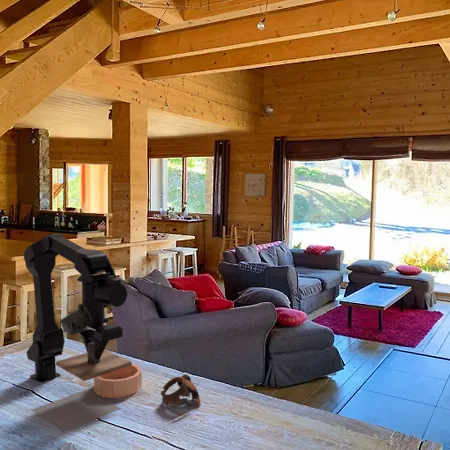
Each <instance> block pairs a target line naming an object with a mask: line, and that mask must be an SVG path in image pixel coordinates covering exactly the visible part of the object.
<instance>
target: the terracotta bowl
mask: <svg viewBox="0 0 450 450" xmlns="http://www.w3.org/2000/svg"><path fill="white" fill-rule="evenodd" d="M142 373H143V372H142V369H141V366H139V365H138V364H135V363H132V365H131V366H128V367H125V368H122V369H119V370H116V371H113V372H110V373H107V374H104V375H101V376H98V377H95V378H92V379H93V394H95V395H97V396H99V397H101V398H109V399H117V398H126V397H129V396H131V395H134V394H137V393H138V392H139V390H141V389H142V386H143V383H142V379H143V377H142V376H143V374H142Z"/></svg>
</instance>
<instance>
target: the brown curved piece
mask: <svg viewBox="0 0 450 450" xmlns="http://www.w3.org/2000/svg"><path fill="white" fill-rule="evenodd" d="M176 383H177V386H178V389H177V390H176V391H174V392H172V393H168V394H166V393H167V391H168V390H170V388H172V387H173V385H176ZM160 395H161V398H162V401H161V402H162V403H163V404H164V405H166V406H168V405H173V404H177V405H180V404H181V402H180V401H181V399H180V397H183V398H184V397H186V398H187V397H190V396H191V399H192V400H195V404H196V406H197V408H200V407H201V399H200V394H199V392H198V390H197V387H196V386H195V384H194V383H193V382H192V378H191V376H189V374H187V373H186V374H183V375H180V376H175V377H173V378H171V379H170V380H168V381H167V382H166V383H165V384H164V385H163V387H162V390H161V391H160Z"/></svg>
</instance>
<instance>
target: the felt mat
mask: <svg viewBox="0 0 450 450" xmlns="http://www.w3.org/2000/svg"><path fill="white" fill-rule="evenodd" d="M120 409H122V408H121V407H120V406H117V405H115V404H114V403H111V402H110V401H108V400H106V399H104V397H101V396H99V395H97V394H96V393H94V392H91V391H89V390H87V389H85V390H82V391H79V392H77V393H76V392H75V393H73V394H71V395H67V396H66V397H62V398H59V399H57V400H54V401H51V402H48V403H45V404H42V405H39V406H37V407H35V408H32V409H31V411H32V412H34V413H35V414H36V415H38V416H39V417H41V418H42V419H44V420H46V421H47V422H48V423H50V424H51V425H53V426H54V427H56V428H57V429H58V430H60V431H62V432H63V433H66V432H68V431H71V430H73V429H75V428H78V427H79V426H82V425H84V424H87V423H90V422H92V421H94V420H97V419H99V418H102V417H104V416H106V415H108V414H111V413H114V412H115V411H116V412H117V411H118V410H120Z"/></svg>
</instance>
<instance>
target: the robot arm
mask: <svg viewBox="0 0 450 450" xmlns="http://www.w3.org/2000/svg"><path fill="white" fill-rule="evenodd" d="M58 256H61V257H62V258H64V259H65V260H68V262H71V263H72V264H73V267H74V270H75V271H77V272H78V273H79V274H80V276H78V277H77V280H76V281H77V282H81V303H79V304H78V305H77V311H74V312H72V313H70V314H68V315H67V316H65V317H63V318H61V320H60V325H61V327H62V328H61V327H60V326H58V324H57V323H56V317H55V316H56V315H55V314H56V313H55V305H54V304H55V303H54V294H53V292H54V291H53V284H52V272H53V271H54V269H55V266H56V265H57V263H56V261H57V260H56V258H57V257H58ZM23 260H24V263H25V268H26V269H27V270H28V272H29V273H30V275H31V276H32V280H33V290H34V300H35V301H34V302H35V303H34V304H35V311H36V322H37V325H36V328H35V329H34V332H33V334H32V344H31V345H29V348H28V349H27V350H26V357H27V359H28V360H29V361H31V362H34V374H30V375H29V376H30V377H29V378H31V379H32V380H35V381H36V382H37V383H43V382H46V381H50V380H52V379H55V378H59V377H61V374H60V373H58V372H56V371H57V369H56V366H57V365H56V357H58V356H62V355H63V351H64V346H65V342H66V341H65V337H64V333H67V334H69V335H71V336H73V335H76V334H78V335H79V336H80V337H81V339H82V341H83V344H84V347H85V350H86V353H87V354H88V343H89V342H93V344H94V353H95V359H96V360H98V359H100V358H101V355H102V353H103V351H104V350H106V347H107V346H108V343H109V342H110V341H111V340H112V341H113V340H115V339H119V338H123V336H124V328H123V327H122V326H121V325H118V324H115V323H114V322H113V323H109V318H107V317H106V315H105V314H106V312H105V311H106V310H105V308H108V307H109V306H111V307H115V308H116V307H117V308H119V307H121V306H122V305H124V303H125V302H126V300H127V298H128V291H127V288H126V286H125V285H123V284H122V280H121V279H120V278H117V275H116V272H115V269H114V267H113V266H112V264H111V262H110V259H109V257H108V255H107V253H105V251H101V250H98V249H88V248H85V247H83V246H80V245H79V244H77V243H75V242H73V241H71V240H70V239H67V238H66V237H64V235H63V234H60V233H55V234H54V233H53V234H46V235H45V236H43V237H42V238H41V239H40V240H37V241H35V242H34V243H32V244H30V245H28V246H27V247H26V249H25V250H24V251H23ZM107 323H108V324H107Z"/></svg>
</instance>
